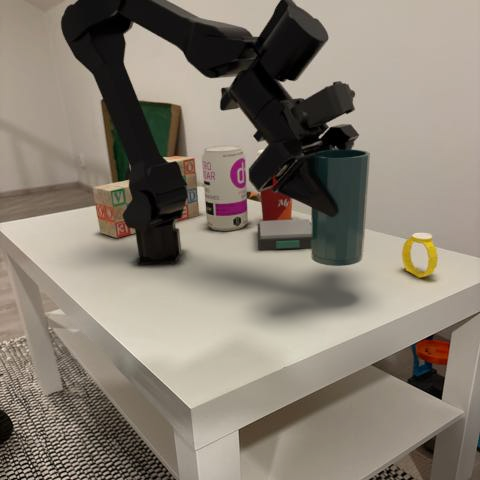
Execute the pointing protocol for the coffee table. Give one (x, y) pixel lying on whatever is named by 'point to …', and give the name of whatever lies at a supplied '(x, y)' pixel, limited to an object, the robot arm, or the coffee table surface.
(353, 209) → the ceramic cup
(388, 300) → the coffee table surface
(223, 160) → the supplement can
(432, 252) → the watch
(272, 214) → the paper cup
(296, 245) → the scale
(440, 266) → the coffee table surface
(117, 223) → the stack of blocks
